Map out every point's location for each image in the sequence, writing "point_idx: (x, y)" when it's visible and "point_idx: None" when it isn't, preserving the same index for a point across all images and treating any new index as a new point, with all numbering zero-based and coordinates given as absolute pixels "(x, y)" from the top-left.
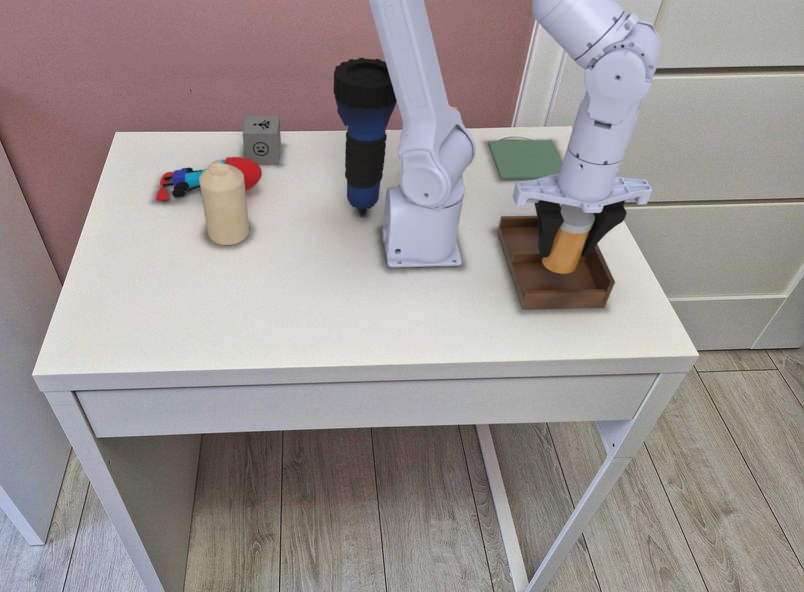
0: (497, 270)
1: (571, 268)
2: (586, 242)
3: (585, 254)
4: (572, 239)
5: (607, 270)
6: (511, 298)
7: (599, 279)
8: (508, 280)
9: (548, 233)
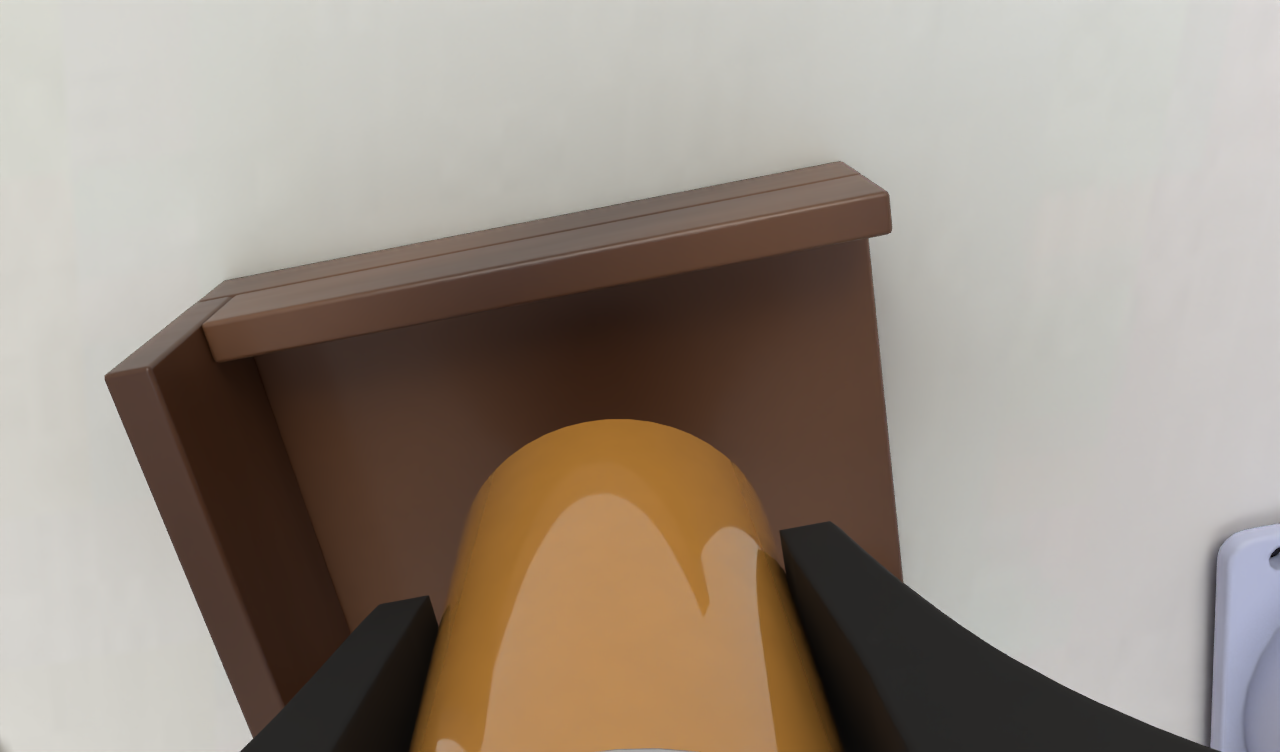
0: (969, 535)
1: (526, 464)
2: (403, 730)
3: (402, 611)
4: (627, 676)
5: (184, 516)
6: (910, 274)
7: (261, 476)
8: (907, 453)
9: (1018, 700)
